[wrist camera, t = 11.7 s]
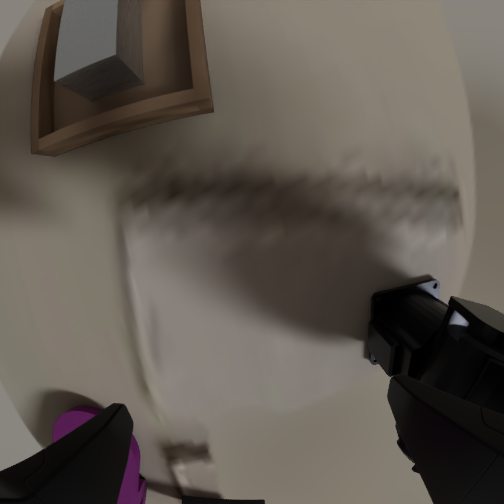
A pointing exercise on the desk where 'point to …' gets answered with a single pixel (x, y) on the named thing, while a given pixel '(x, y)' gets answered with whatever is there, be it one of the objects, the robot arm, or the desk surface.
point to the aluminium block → (100, 47)
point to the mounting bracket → (132, 485)
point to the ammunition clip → (217, 501)
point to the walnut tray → (131, 100)
